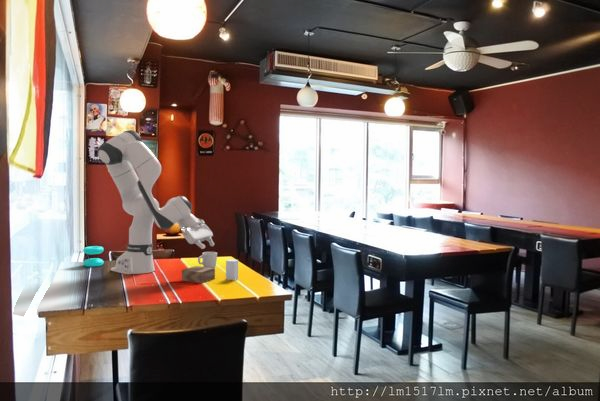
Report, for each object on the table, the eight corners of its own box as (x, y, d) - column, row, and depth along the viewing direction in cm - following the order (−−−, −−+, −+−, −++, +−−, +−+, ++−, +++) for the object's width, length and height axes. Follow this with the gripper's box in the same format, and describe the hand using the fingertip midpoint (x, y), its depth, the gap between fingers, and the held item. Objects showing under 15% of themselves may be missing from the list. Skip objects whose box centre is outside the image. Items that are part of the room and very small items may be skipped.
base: (181, 280, 215) (181, 269, 215) (196, 276, 225) (196, 266, 225) (200, 283, 211) (201, 272, 210) (214, 278, 221) (214, 268, 220)
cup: (202, 270, 239) (202, 255, 239) (194, 267, 245) (194, 253, 245) (219, 267, 247) (220, 253, 246) (212, 265, 253) (212, 251, 252)
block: (225, 279, 219) (226, 260, 219) (229, 277, 223) (229, 259, 223) (234, 280, 218) (234, 261, 218) (238, 278, 222) (238, 259, 222)
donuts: (87, 249, 239) (80, 246, 246) (87, 268, 239) (80, 265, 246) (106, 247, 246) (99, 245, 253) (106, 265, 246) (99, 263, 253)
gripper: (183, 223, 214) (202, 245, 212) (204, 219, 234) (221, 239, 232) (175, 232, 216) (193, 254, 214) (196, 227, 235) (213, 247, 233)
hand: (208, 246), depth 223 cm, fingers open, 8 cm apart
